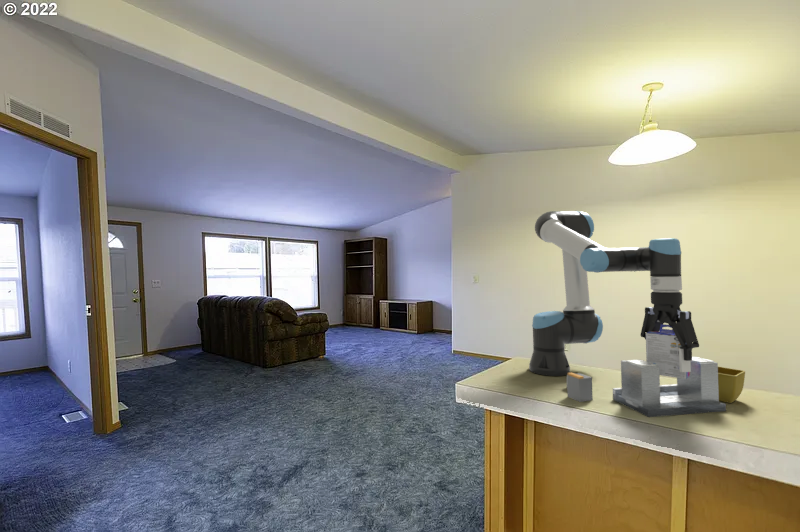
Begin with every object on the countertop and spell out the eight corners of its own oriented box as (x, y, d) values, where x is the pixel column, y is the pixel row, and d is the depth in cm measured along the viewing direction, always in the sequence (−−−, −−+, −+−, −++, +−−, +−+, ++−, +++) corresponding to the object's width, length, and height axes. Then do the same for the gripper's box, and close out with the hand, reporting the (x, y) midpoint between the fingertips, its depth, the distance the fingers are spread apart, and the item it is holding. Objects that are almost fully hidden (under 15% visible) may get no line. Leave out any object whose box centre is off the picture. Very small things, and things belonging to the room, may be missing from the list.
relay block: (567, 396, 119) (567, 373, 119) (580, 395, 120) (579, 371, 121) (579, 402, 114) (578, 377, 114) (592, 400, 116) (591, 375, 116)
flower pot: (736, 407, 108) (735, 375, 108) (699, 398, 115) (698, 369, 115) (746, 400, 112) (745, 370, 113) (710, 393, 120) (709, 365, 120)
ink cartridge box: (691, 375, 108) (689, 325, 108) (687, 380, 104) (686, 328, 104) (650, 370, 115) (649, 322, 115) (646, 373, 111) (644, 324, 111)
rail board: (612, 399, 116) (611, 356, 116) (682, 394, 119) (680, 352, 119) (648, 417, 102) (646, 367, 102) (726, 411, 105) (724, 363, 105)
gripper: (625, 289, 121) (627, 358, 120) (689, 293, 98) (692, 378, 97) (646, 289, 121) (648, 357, 121) (715, 292, 99) (717, 376, 98)
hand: (668, 366), depth 109 cm, fingers closed on ink cartridge box, 10 cm apart
